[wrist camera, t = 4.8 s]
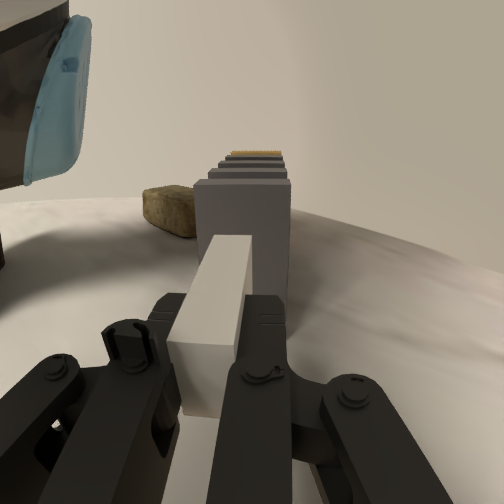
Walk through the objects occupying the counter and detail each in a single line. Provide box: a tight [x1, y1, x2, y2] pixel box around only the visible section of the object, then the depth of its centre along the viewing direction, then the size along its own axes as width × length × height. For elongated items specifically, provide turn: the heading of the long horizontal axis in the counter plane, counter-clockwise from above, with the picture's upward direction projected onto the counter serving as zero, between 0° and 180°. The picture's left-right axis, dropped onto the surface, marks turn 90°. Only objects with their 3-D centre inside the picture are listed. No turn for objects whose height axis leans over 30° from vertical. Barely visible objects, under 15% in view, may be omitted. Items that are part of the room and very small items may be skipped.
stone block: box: [143, 185, 197, 237], centre depth 40 cm, size 6×12×5 cm, turn 46°
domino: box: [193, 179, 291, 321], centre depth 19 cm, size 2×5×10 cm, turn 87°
